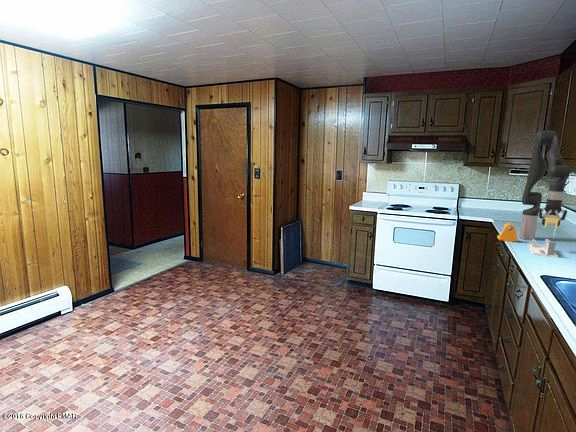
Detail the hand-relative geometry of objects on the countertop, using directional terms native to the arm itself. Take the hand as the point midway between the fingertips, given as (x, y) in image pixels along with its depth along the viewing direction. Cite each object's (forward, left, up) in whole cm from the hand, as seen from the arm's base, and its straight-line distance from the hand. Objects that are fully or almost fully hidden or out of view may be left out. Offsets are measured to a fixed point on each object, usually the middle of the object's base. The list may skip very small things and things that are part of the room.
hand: (550, 225), depth 211 cm
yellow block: (0, 0, -1) cm, 1 cm away
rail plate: (+1, -3, -16) cm, 16 cm away
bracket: (-18, -20, -16) cm, 31 cm away
